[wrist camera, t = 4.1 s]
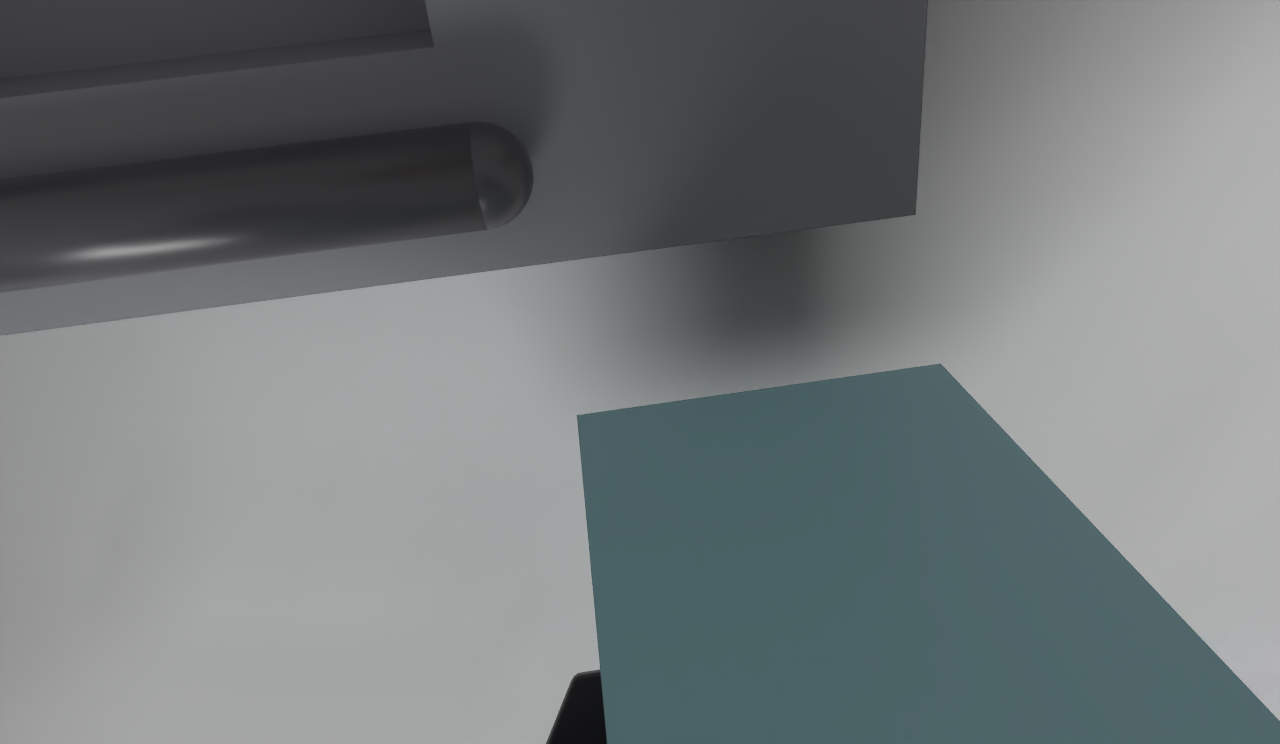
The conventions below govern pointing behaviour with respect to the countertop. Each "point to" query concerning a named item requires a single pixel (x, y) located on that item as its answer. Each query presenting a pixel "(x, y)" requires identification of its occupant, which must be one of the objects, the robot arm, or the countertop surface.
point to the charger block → (873, 582)
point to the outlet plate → (426, 139)
